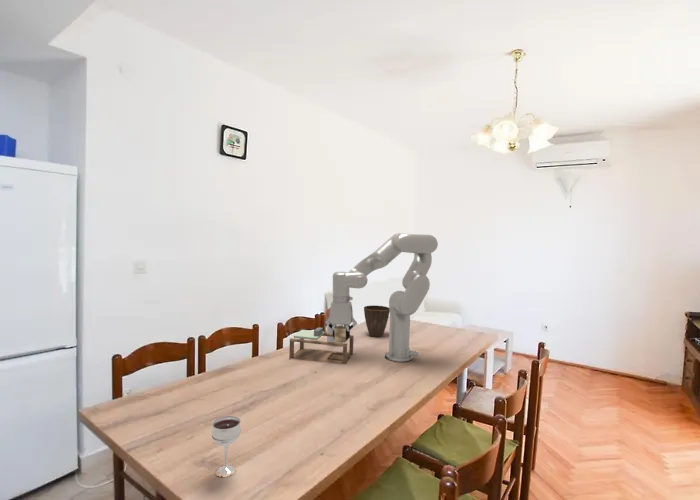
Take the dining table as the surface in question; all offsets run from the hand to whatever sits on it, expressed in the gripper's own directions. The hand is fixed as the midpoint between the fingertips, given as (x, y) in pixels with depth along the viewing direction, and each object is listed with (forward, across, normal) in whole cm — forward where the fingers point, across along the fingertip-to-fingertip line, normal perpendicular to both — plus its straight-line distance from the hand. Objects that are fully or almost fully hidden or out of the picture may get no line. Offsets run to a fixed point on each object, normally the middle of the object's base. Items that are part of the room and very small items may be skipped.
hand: (341, 338), depth 172 cm
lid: (0, +15, 0) cm, 15 cm away
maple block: (+1, 0, 0) cm, 1 cm away
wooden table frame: (+10, +9, 0) cm, 13 cm away
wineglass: (+9, +8, +85) cm, 86 cm away
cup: (+10, +8, -19) cm, 23 cm away
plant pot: (+11, -9, -47) cm, 49 cm away
